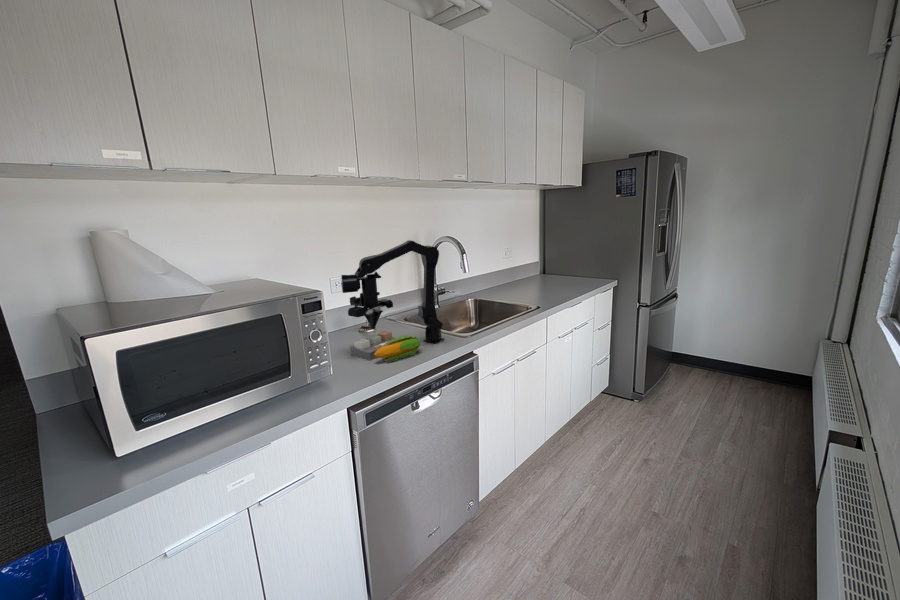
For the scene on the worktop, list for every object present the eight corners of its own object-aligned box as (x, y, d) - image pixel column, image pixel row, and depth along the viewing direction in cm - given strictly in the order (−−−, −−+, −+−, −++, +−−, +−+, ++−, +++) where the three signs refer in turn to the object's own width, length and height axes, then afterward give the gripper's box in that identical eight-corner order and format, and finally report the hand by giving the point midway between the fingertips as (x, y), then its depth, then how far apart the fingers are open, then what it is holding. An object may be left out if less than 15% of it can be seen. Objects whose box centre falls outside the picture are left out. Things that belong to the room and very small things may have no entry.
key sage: (374, 342, 163) (373, 334, 162) (381, 344, 161) (381, 336, 160) (366, 345, 160) (365, 337, 159) (373, 347, 157) (373, 339, 157)
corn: (424, 333, 154) (378, 346, 141) (426, 352, 155) (381, 367, 143) (413, 331, 159) (368, 342, 147) (415, 349, 161) (370, 362, 148)
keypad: (384, 341, 170) (384, 334, 169) (403, 346, 163) (403, 338, 162) (351, 354, 156) (350, 346, 155) (370, 360, 149) (369, 352, 149)
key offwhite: (363, 347, 159) (362, 338, 158) (370, 349, 156) (369, 340, 155) (354, 350, 155) (354, 341, 155) (362, 352, 153) (361, 343, 152)
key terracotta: (385, 338, 168) (384, 330, 167) (392, 340, 165) (391, 332, 165) (377, 341, 165) (377, 333, 164) (385, 343, 162) (384, 335, 161)
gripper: (373, 284, 167) (376, 320, 171) (336, 292, 153) (341, 331, 156) (392, 286, 161) (395, 324, 164) (355, 295, 146) (359, 336, 150)
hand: (373, 328), depth 159 cm, fingers closed
